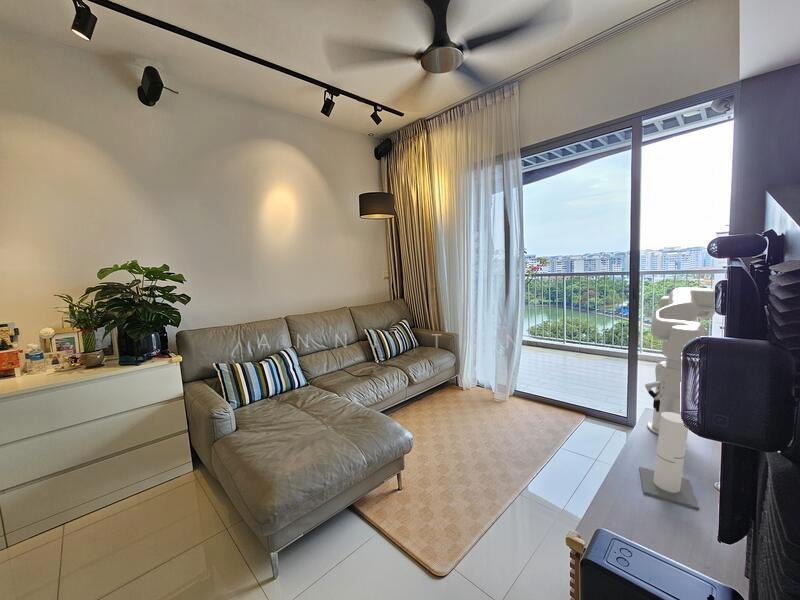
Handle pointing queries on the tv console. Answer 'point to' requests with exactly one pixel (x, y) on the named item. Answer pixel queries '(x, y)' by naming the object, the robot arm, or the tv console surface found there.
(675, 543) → the tv console surface
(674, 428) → the cylindrical container
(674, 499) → the rubber mat
